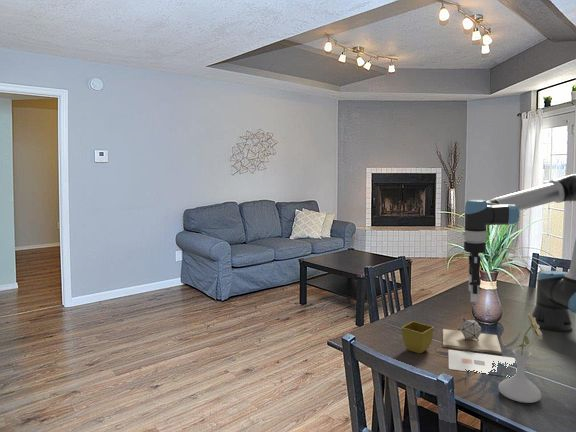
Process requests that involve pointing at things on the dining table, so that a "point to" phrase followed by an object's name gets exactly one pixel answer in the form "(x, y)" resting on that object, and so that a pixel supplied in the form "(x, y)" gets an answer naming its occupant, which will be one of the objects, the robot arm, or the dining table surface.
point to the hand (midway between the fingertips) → (473, 296)
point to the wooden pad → (471, 342)
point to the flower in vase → (522, 373)
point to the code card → (476, 361)
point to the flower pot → (417, 336)
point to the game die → (471, 329)
